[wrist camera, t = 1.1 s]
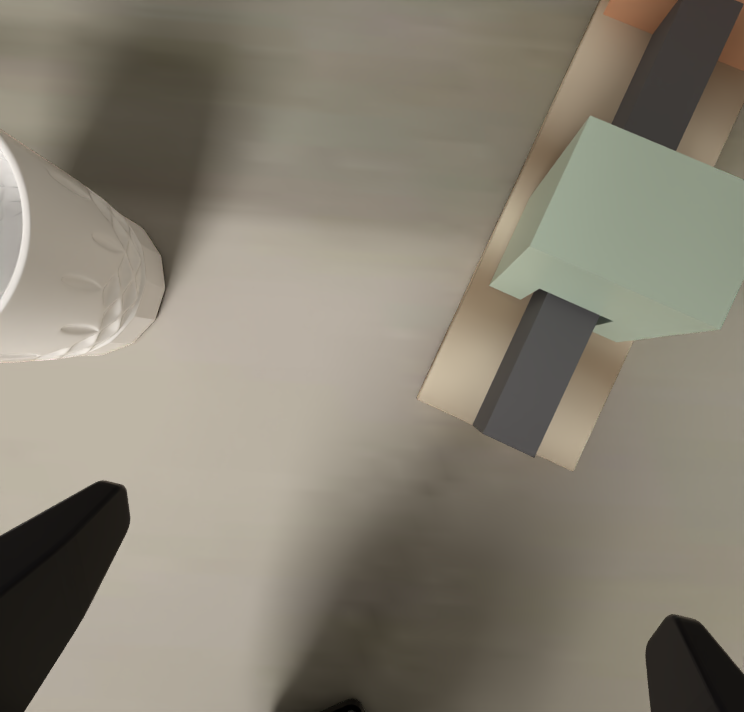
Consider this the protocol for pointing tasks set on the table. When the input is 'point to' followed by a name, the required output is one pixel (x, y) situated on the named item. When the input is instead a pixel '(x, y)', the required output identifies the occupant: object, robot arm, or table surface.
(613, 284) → the sleeve
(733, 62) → the band
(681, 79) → the rail
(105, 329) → the white cup
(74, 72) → the table surface
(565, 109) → the track board
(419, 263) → the table surface
